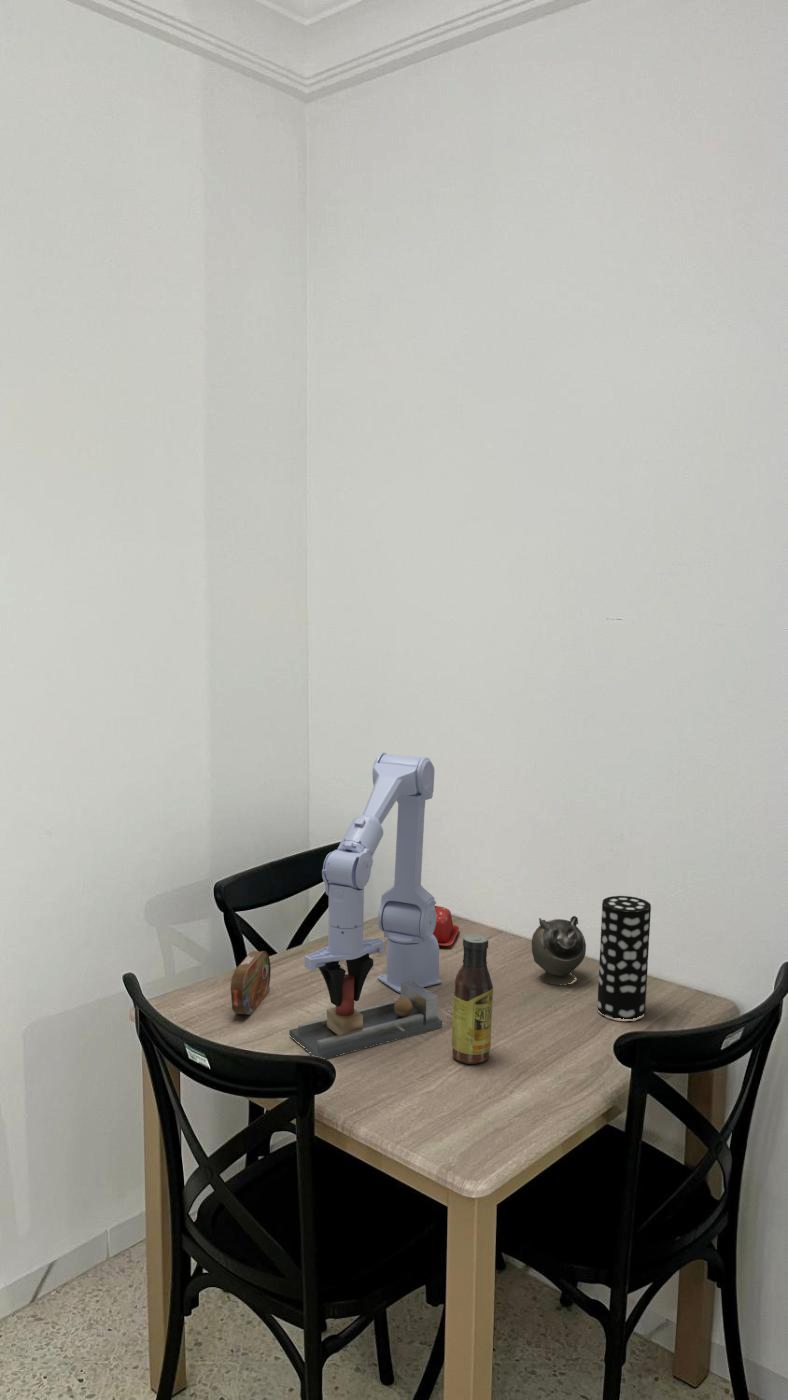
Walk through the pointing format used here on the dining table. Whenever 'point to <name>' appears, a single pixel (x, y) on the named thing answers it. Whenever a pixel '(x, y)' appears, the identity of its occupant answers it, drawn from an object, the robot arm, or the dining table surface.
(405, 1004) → the nut
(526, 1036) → the dining table surface
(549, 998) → the dining table surface
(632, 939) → the white-spotted black cylinder
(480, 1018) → the sauce bottle
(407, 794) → the robot arm
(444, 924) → the butter dish
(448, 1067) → the dining table surface
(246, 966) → the tin
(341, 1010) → the press slider
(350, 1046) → the base
